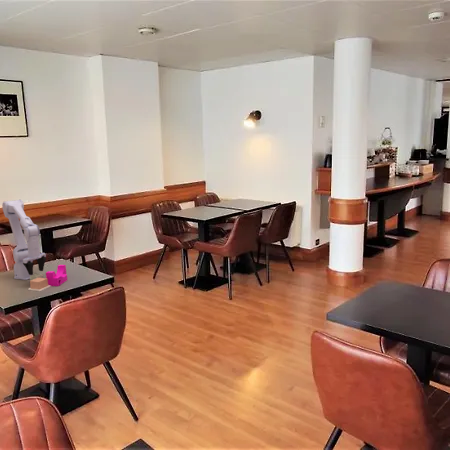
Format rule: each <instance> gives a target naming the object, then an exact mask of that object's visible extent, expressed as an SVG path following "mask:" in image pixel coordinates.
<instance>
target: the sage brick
mask: <svg viewBox="0 0 450 450" xmlns="http://www.w3.org/2000/svg"><path fill="white" fill-rule="evenodd" d="M36 278H44V275H43V274H42V273H33V275H31V276H30V279H29V282H30V281H31V280H34V279H36Z"/></svg>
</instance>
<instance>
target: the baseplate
mask: <svg viewBox="0 0 450 450" xmlns="http://www.w3.org/2000/svg"><path fill="white" fill-rule="evenodd" d="M49 288H52V286H51V285H48V286H47V287H45V288H42V289H31V287H28V288H27V291H33V292H42V291H45V290H47V289H49Z"/></svg>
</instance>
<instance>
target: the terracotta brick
mask: <svg viewBox="0 0 450 450" xmlns="http://www.w3.org/2000/svg"><path fill="white" fill-rule="evenodd" d="M29 285H30V286H29V288H31V289H42V288H45V287H47V286H48V279H47V278H46V277H43V278H36V279H34V280H31V281H30V280H29Z"/></svg>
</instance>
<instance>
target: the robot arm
mask: <svg viewBox="0 0 450 450" xmlns="http://www.w3.org/2000/svg"><path fill="white" fill-rule="evenodd" d="M1 208H2V212H3V215H4V217H5V218H7V219H8V220H9V221H8V222H9V225H10V228H11V231H12V234H13V239H14V242H15V245H16V247H14V249H12V255H13V261H14V262H15V263H14V264H13V272H14V277H13V280H14V279H16V280H24V281H27V280H30V276H31V275H33V274H34V264H35V263H34V262H33V261H36V262H37V267H38V270H39V271H40V272H43V271H44V268H45V263H46V261H47V254H46V253H45V252H40V251H41V250H40V242H39V240H40V239H39V236H40V233H41V232H40V231H41V230H40V227H39V225H38V224H36V223H34V222H33V221H32V219H31V217H30V216H27V215H26V212H25V210H24V209H25V204H24V201H23V200H22V199H16V200H7V201H5V200H4V201H3V202H2V207H1Z"/></svg>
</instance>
